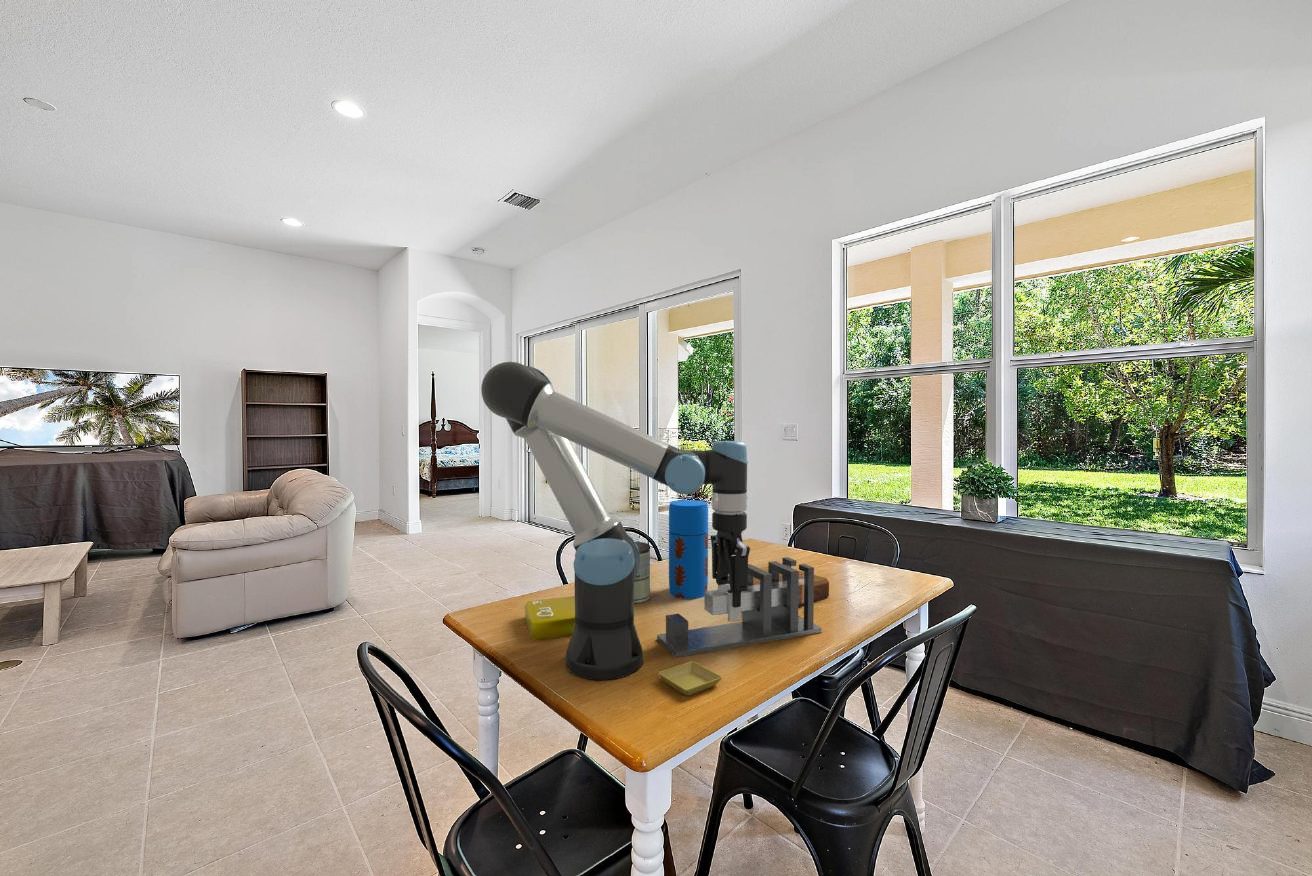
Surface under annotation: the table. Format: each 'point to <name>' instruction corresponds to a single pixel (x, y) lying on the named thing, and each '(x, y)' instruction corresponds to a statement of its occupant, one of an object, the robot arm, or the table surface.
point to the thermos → (688, 548)
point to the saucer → (690, 678)
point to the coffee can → (642, 574)
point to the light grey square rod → (749, 597)
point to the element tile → (550, 617)
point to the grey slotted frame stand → (751, 616)
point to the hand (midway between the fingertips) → (728, 616)
